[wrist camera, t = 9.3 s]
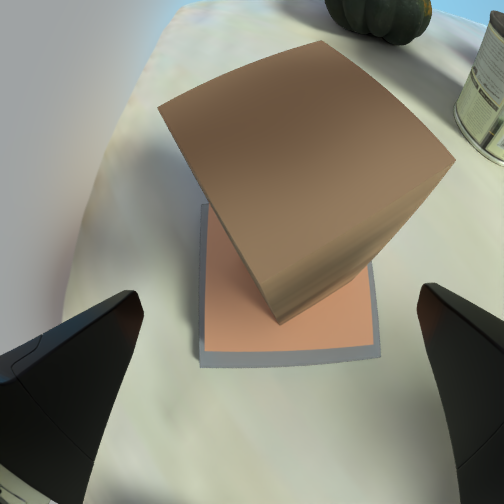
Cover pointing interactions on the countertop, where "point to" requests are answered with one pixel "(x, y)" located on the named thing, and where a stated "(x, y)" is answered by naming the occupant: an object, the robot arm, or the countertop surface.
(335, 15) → the squash
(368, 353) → the bottom slab
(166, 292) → the countertop surface
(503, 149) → the coffee can
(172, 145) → the countertop surface
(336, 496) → the countertop surface
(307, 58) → the walnut block
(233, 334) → the top slab
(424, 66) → the countertop surface
